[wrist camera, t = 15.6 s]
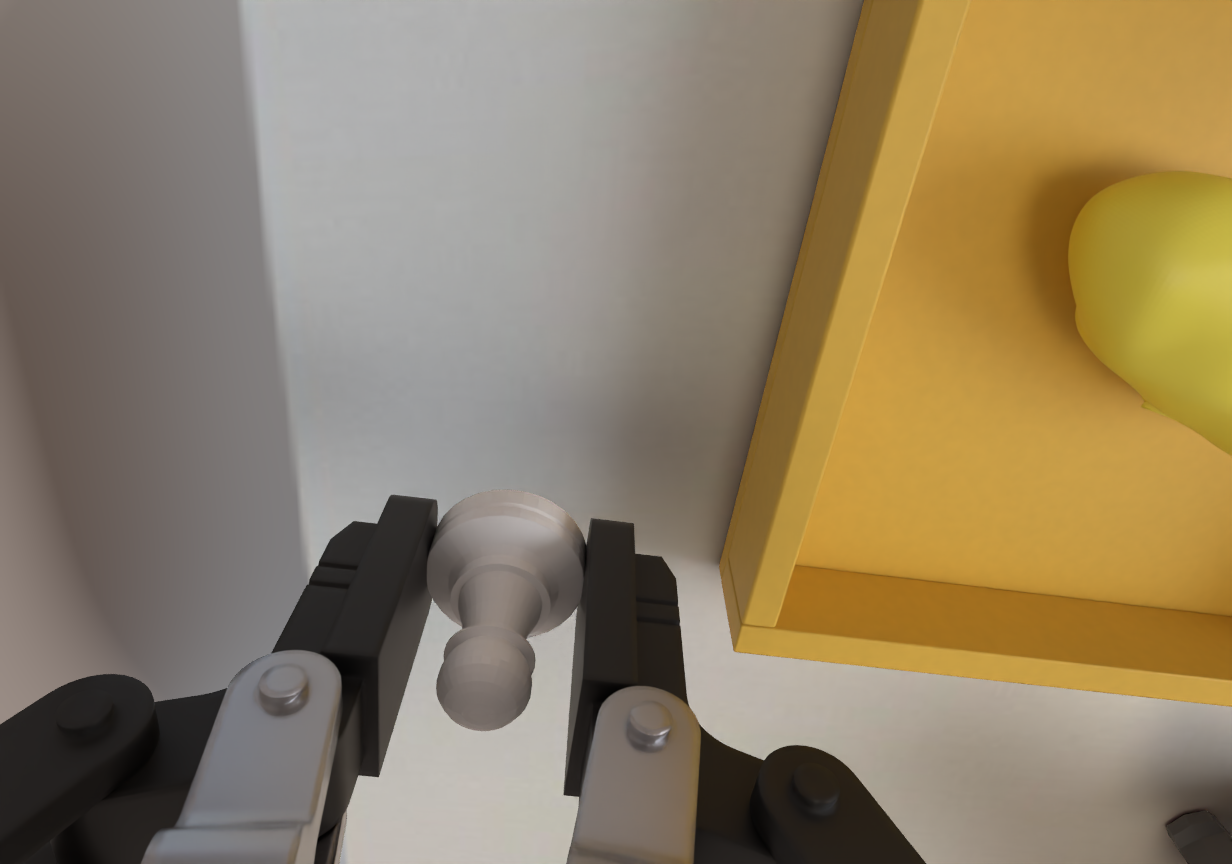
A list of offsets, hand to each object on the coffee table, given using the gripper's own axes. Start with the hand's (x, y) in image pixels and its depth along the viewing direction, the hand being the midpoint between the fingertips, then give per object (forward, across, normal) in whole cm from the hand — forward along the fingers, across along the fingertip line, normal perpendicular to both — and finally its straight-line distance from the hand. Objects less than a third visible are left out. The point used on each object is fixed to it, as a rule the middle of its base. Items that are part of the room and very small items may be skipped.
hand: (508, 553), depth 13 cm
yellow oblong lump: (+5, -13, -4) cm, 15 cm away
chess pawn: (0, 0, 0) cm, 0 cm away
